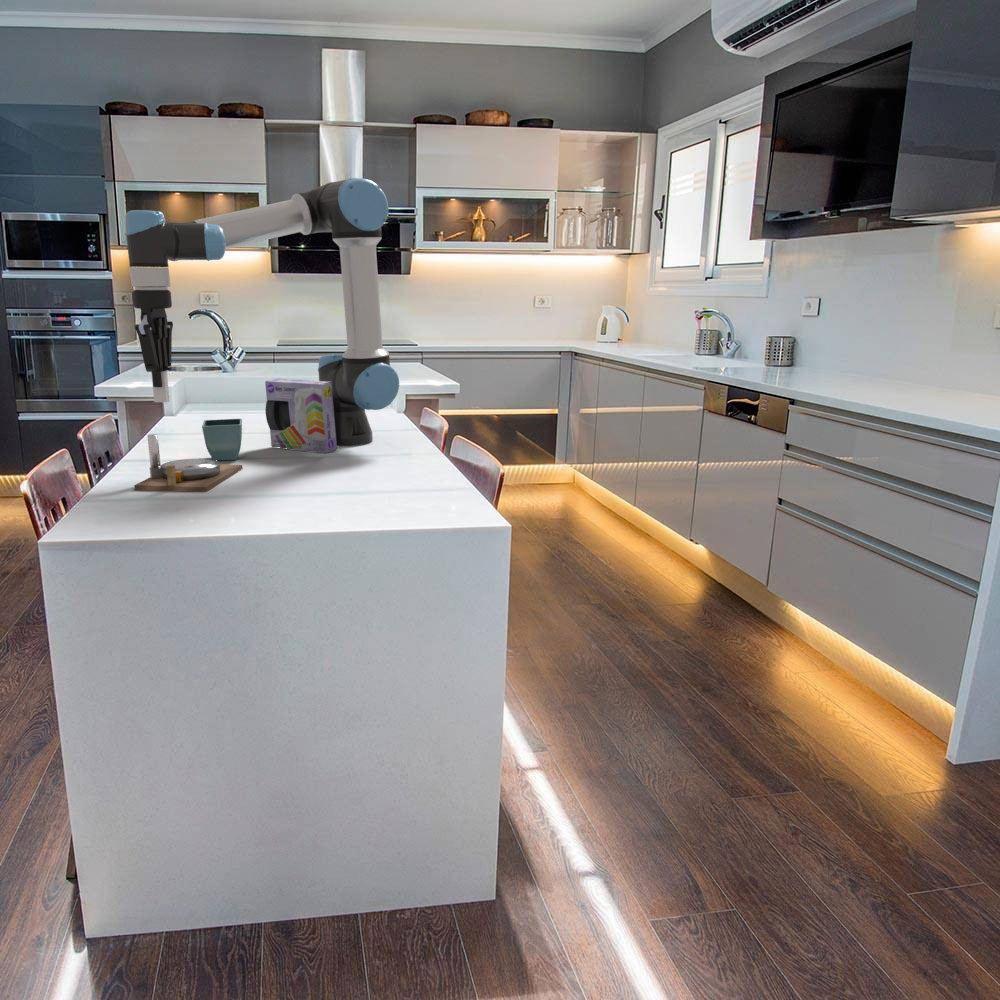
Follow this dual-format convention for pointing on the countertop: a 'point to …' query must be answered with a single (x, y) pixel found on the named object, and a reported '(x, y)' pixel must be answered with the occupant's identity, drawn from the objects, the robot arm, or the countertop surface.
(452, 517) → the countertop surface
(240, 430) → the flower pot
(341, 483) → the countertop surface
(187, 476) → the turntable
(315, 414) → the cake pan box
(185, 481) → the base
